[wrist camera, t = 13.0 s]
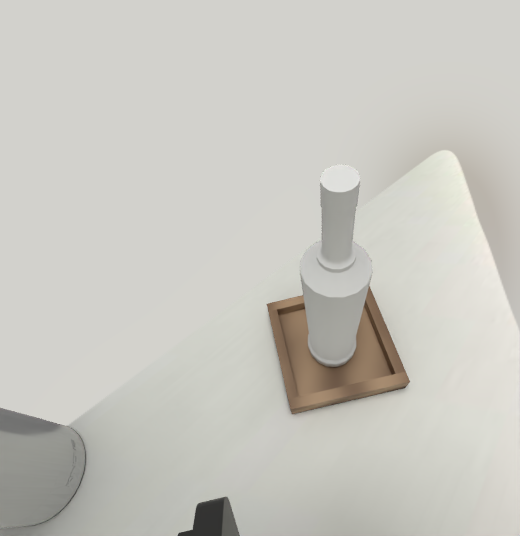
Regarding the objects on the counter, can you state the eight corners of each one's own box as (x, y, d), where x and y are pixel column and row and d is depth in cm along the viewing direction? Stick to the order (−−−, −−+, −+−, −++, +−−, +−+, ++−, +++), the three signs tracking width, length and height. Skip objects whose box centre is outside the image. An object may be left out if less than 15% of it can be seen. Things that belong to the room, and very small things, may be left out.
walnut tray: (292, 414, 37) (290, 409, 35) (269, 312, 43) (266, 304, 41) (405, 387, 36) (409, 381, 34) (364, 289, 43) (366, 279, 41)
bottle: (313, 320, 41) (303, 142, 20) (358, 330, 40) (397, 148, 19) (303, 362, 39) (279, 208, 18) (351, 374, 37) (385, 222, 16)
